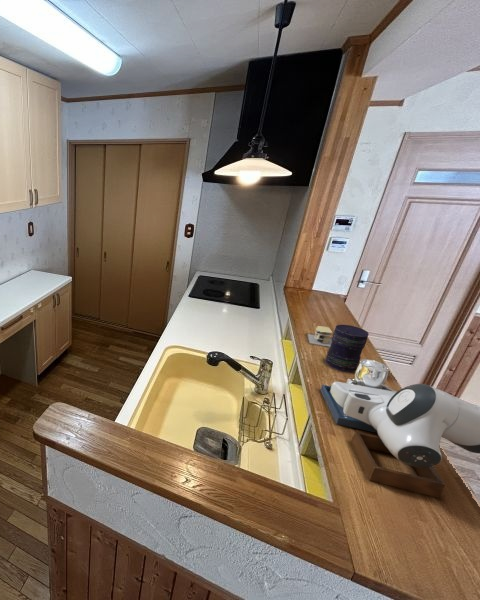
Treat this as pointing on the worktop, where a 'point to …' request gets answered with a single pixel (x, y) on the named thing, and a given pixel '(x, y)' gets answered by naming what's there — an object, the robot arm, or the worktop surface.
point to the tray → (339, 414)
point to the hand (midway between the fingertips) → (365, 383)
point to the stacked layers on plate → (321, 336)
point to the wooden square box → (423, 484)
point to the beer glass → (371, 374)
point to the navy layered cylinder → (346, 348)
